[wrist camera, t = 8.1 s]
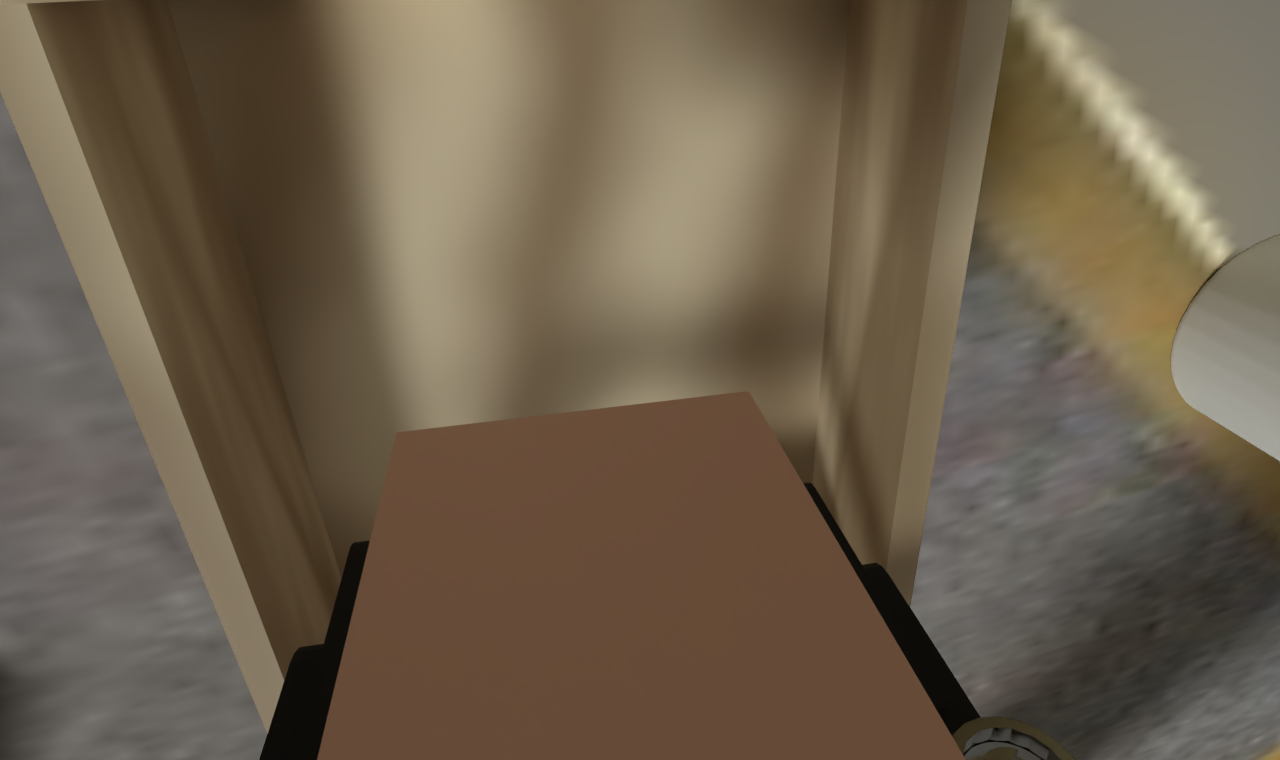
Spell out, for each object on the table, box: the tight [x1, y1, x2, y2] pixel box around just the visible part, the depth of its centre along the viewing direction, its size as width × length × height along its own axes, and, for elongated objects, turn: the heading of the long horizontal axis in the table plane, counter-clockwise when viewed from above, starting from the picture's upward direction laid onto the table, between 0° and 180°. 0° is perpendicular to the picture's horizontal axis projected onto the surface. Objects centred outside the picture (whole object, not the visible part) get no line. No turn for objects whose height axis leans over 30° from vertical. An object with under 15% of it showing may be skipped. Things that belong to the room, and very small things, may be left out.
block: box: [317, 391, 966, 760], centre depth 9 cm, size 5×5×7 cm
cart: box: [0, 0, 1012, 734], centre depth 17 cm, size 16×19×15 cm
